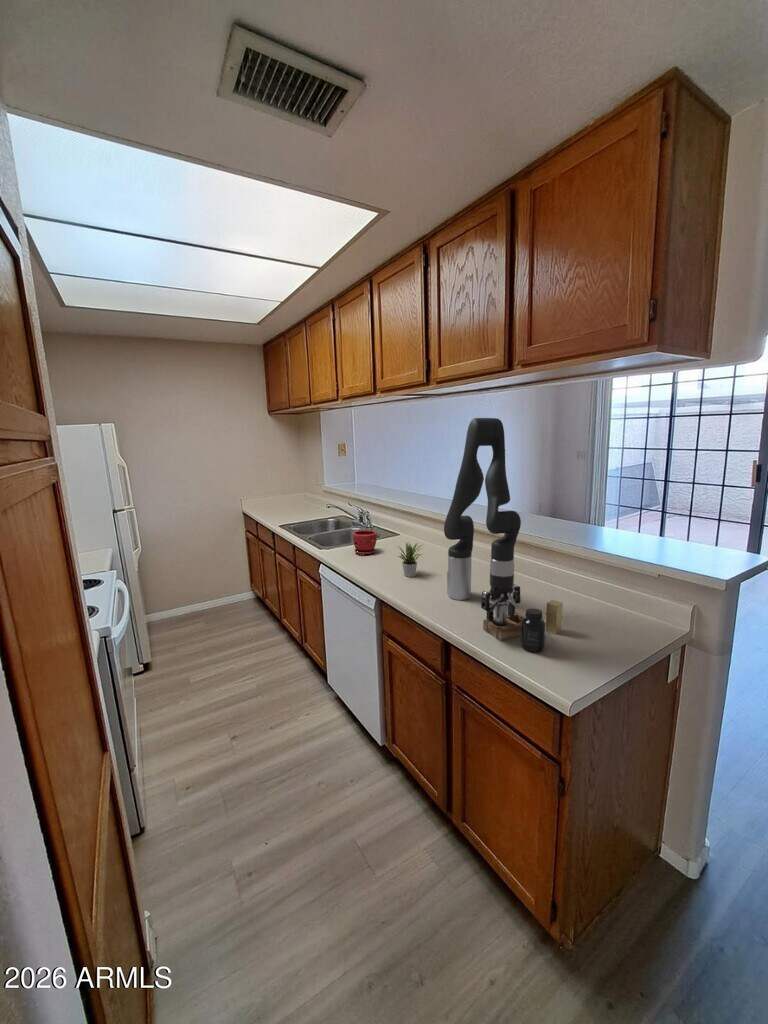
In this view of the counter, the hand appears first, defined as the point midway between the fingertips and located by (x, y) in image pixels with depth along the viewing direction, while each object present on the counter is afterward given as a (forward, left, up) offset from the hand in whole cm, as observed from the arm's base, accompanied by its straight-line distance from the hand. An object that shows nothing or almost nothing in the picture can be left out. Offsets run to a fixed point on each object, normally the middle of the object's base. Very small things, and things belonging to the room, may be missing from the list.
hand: (500, 618), depth 141 cm
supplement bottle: (+12, +2, -5) cm, 14 cm away
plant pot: (-110, -4, -5) cm, 110 cm away
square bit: (+7, +16, -5) cm, 19 cm away
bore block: (0, +4, -5) cm, 6 cm away
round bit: (0, 0, -5) cm, 5 cm away
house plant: (-64, +2, -5) cm, 64 cm away
